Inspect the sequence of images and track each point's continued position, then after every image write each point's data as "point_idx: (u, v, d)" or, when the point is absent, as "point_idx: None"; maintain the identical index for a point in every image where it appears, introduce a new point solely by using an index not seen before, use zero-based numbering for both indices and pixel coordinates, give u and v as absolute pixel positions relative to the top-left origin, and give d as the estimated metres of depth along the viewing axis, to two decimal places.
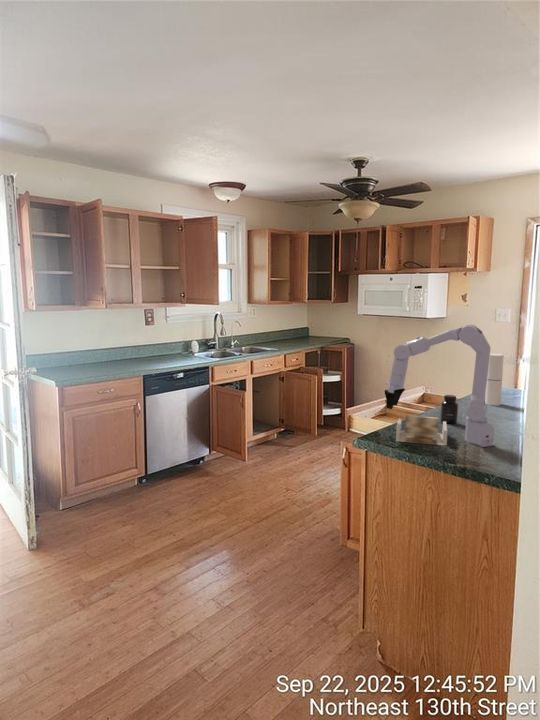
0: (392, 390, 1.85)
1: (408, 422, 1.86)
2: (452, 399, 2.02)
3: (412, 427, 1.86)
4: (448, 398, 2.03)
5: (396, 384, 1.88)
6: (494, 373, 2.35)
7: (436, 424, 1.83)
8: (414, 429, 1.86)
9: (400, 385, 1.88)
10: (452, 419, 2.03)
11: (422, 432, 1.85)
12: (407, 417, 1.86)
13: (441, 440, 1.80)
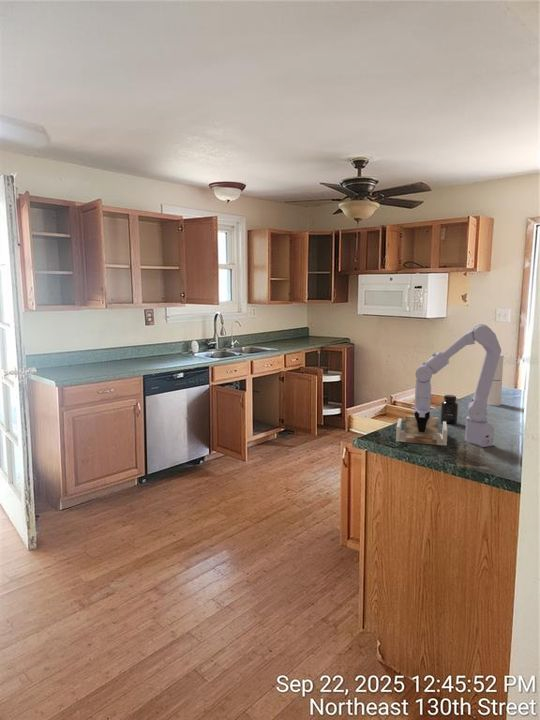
0: (423, 414, 1.78)
1: (408, 422, 1.86)
2: (452, 399, 2.02)
3: (412, 427, 1.86)
4: (448, 398, 2.03)
5: (424, 408, 1.82)
6: None
7: (436, 424, 1.83)
8: (414, 429, 1.86)
9: (428, 408, 1.82)
10: (452, 419, 2.03)
11: (422, 432, 1.85)
12: (407, 417, 1.86)
13: (441, 440, 1.80)
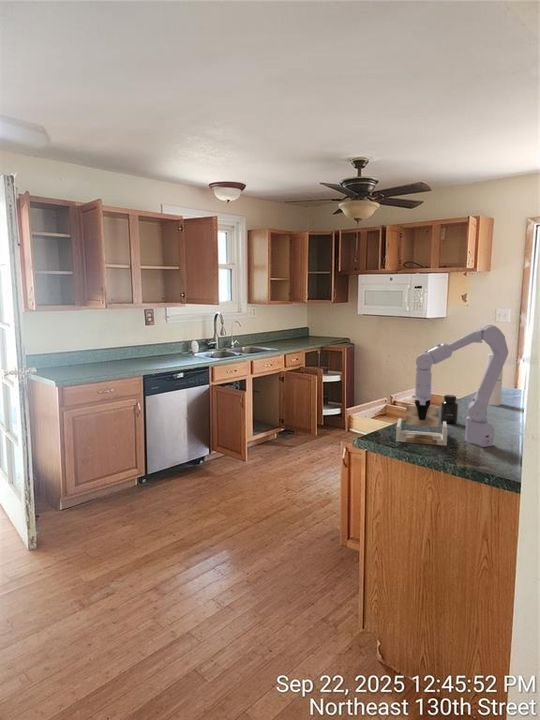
0: (424, 402, 1.77)
1: (408, 411, 1.86)
2: (452, 399, 2.02)
3: (413, 416, 1.85)
4: (448, 398, 2.03)
5: (424, 396, 1.81)
6: None
7: (437, 413, 1.82)
8: (414, 418, 1.85)
9: (428, 396, 1.81)
10: (452, 419, 2.03)
11: (423, 421, 1.84)
12: (407, 406, 1.85)
13: (441, 440, 1.80)
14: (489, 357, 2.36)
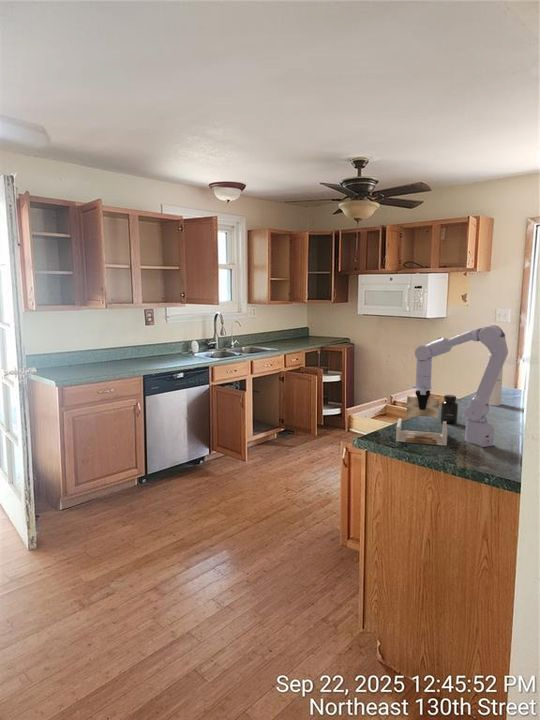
0: (424, 392, 1.83)
1: (409, 402, 1.91)
2: (452, 399, 2.02)
3: (414, 407, 1.91)
4: (448, 398, 2.03)
5: (425, 386, 1.86)
6: None
7: (437, 404, 1.88)
8: (415, 409, 1.91)
9: (428, 386, 1.87)
10: (452, 419, 2.03)
11: (423, 412, 1.90)
12: (408, 398, 1.91)
13: (441, 440, 1.80)
14: (489, 357, 2.36)
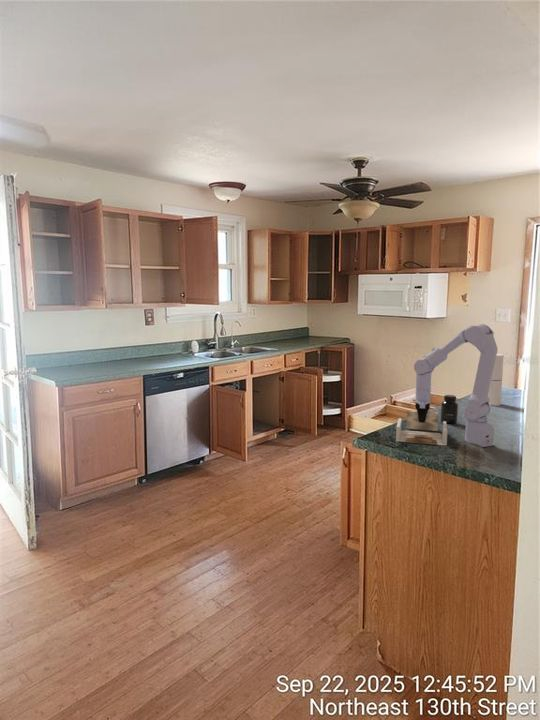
0: (423, 405, 1.86)
1: (409, 416, 1.95)
2: (452, 399, 2.02)
3: (414, 421, 1.95)
4: (448, 398, 2.03)
5: (424, 399, 1.90)
6: (494, 373, 2.35)
7: (436, 419, 1.92)
8: (415, 423, 1.95)
9: (428, 399, 1.91)
10: (452, 419, 2.03)
11: (423, 426, 1.94)
12: (408, 412, 1.95)
13: (441, 440, 1.80)
14: None
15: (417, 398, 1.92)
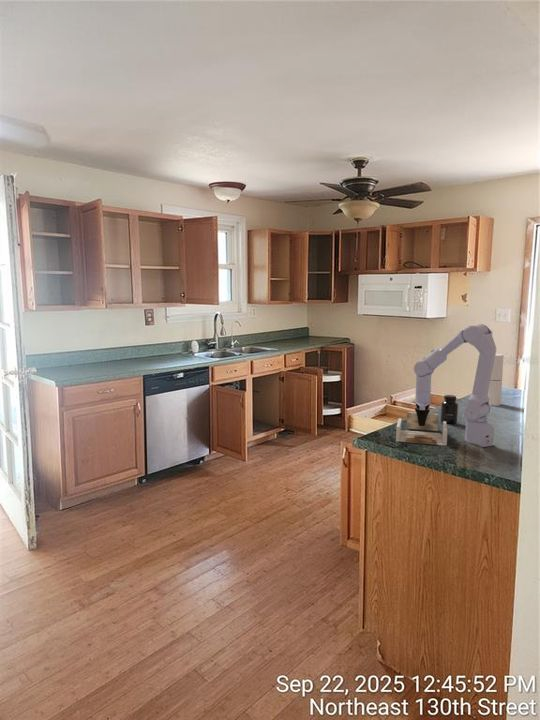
0: (423, 407, 1.87)
1: (409, 418, 1.95)
2: (452, 399, 2.02)
3: (413, 423, 1.95)
4: (448, 398, 2.03)
5: (424, 401, 1.90)
6: (494, 373, 2.35)
7: (436, 420, 1.92)
8: (415, 425, 1.95)
9: (428, 401, 1.91)
10: (452, 419, 2.03)
11: (423, 428, 1.94)
12: (408, 413, 1.95)
13: (441, 440, 1.80)
14: None
15: (417, 400, 1.92)
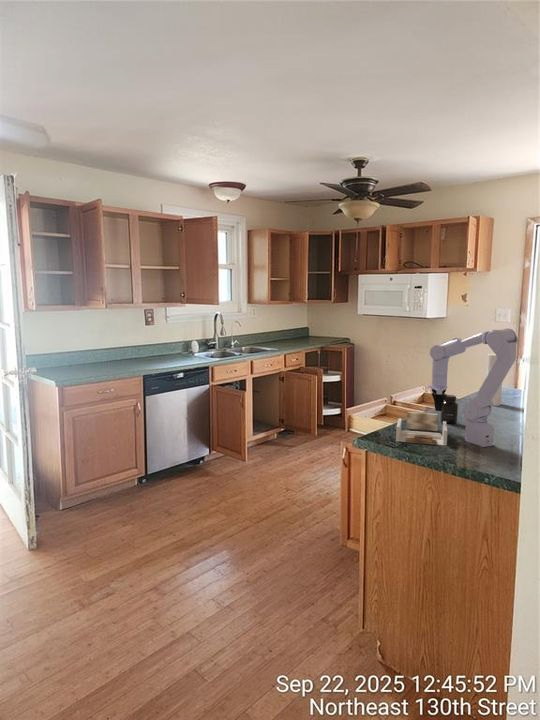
0: (440, 391, 1.83)
1: (409, 418, 1.95)
2: (452, 399, 2.02)
3: (413, 423, 1.95)
4: (448, 398, 2.03)
5: (441, 385, 1.87)
6: None
7: (436, 420, 1.92)
8: (415, 425, 1.95)
9: (445, 385, 1.88)
10: (452, 419, 2.03)
11: (423, 428, 1.94)
12: (408, 413, 1.95)
13: (441, 440, 1.80)
14: (489, 357, 2.36)
15: (433, 384, 1.89)
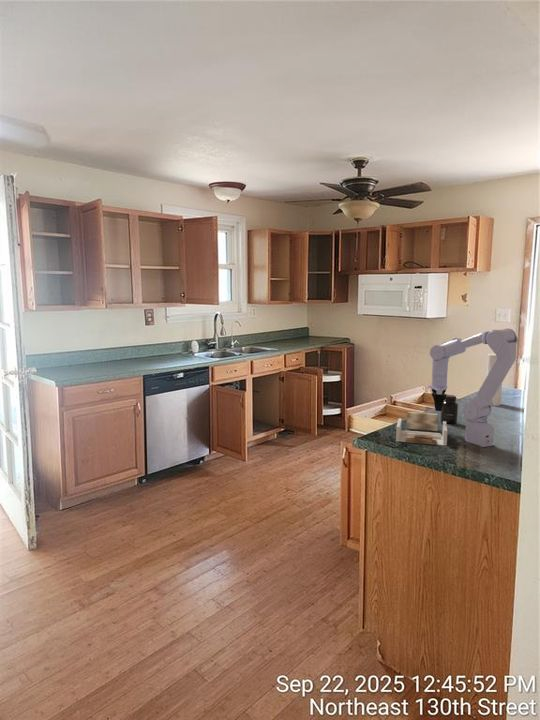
0: (440, 391, 1.83)
1: (409, 418, 1.95)
2: (452, 399, 2.02)
3: (413, 423, 1.95)
4: (448, 398, 2.03)
5: (441, 385, 1.87)
6: None
7: (436, 420, 1.92)
8: (415, 425, 1.95)
9: (445, 385, 1.88)
10: (452, 419, 2.03)
11: (423, 428, 1.94)
12: (408, 413, 1.95)
13: (441, 440, 1.80)
14: (489, 357, 2.36)
15: (433, 384, 1.89)
